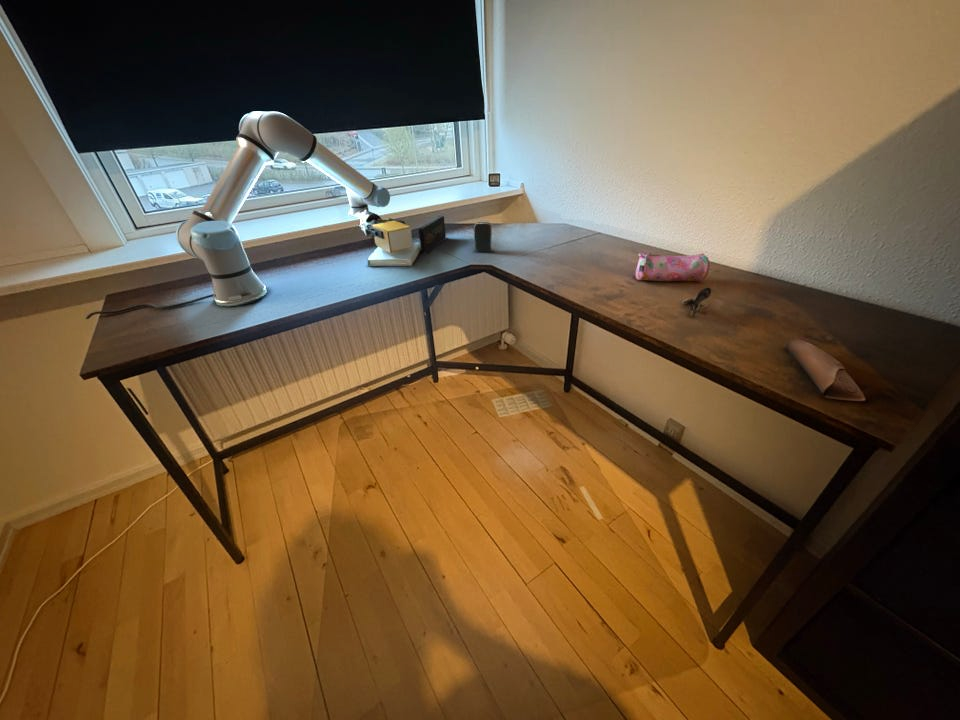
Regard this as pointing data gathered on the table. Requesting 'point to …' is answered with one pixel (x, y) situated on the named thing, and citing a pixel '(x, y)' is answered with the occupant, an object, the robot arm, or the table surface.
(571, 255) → the table surface
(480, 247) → the battery charger
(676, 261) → the pencil case
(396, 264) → the block
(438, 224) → the nameplate
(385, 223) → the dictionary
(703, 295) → the eagle figurine
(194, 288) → the table surface
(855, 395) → the sunglasses case
